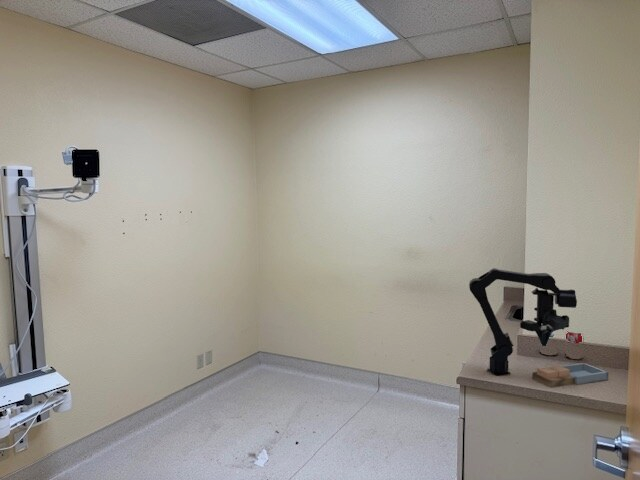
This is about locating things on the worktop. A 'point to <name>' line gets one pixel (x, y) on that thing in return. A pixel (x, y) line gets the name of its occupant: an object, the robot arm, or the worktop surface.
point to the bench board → (554, 380)
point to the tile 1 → (547, 372)
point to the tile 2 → (561, 371)
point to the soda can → (574, 337)
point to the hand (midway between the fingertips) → (543, 345)
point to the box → (586, 373)
